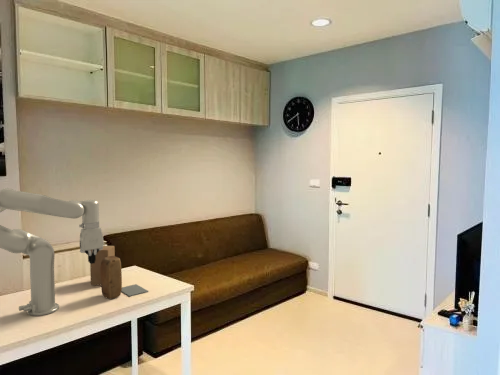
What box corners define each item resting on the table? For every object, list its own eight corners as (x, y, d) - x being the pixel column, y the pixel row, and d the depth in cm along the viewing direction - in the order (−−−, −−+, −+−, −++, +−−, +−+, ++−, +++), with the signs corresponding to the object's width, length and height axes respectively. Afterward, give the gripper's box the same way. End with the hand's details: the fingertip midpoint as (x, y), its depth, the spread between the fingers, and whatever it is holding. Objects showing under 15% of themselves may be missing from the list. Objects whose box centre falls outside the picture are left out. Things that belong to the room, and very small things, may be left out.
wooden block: (108, 285, 200) (107, 249, 199) (90, 285, 200) (89, 249, 199) (115, 279, 210) (114, 245, 209) (98, 279, 210) (97, 245, 209)
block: (123, 296, 184) (122, 258, 183) (109, 301, 179) (108, 260, 177) (112, 291, 192) (112, 254, 190) (98, 295, 186) (98, 256, 184)
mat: (129, 296, 185) (129, 295, 184) (117, 289, 195) (117, 288, 195) (148, 291, 192) (148, 290, 192) (136, 285, 202) (136, 284, 202)
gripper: (77, 228, 168) (78, 267, 170) (109, 224, 178) (110, 261, 180) (71, 226, 174) (73, 264, 175) (103, 222, 184) (104, 258, 185)
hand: (92, 262), depth 178 cm, fingers closed
